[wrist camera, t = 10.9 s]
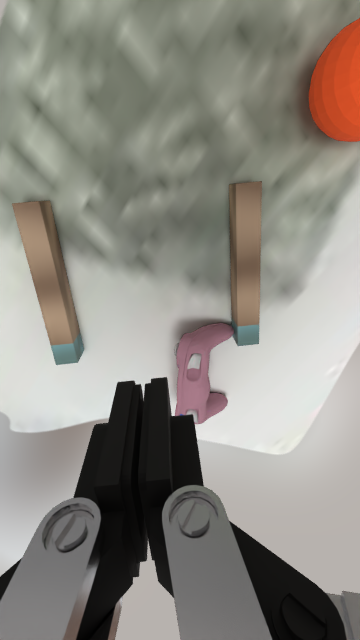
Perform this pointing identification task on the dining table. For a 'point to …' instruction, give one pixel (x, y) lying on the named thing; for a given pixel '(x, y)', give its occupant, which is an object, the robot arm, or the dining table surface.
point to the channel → (55, 286)
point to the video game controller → (199, 372)
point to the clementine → (338, 86)
